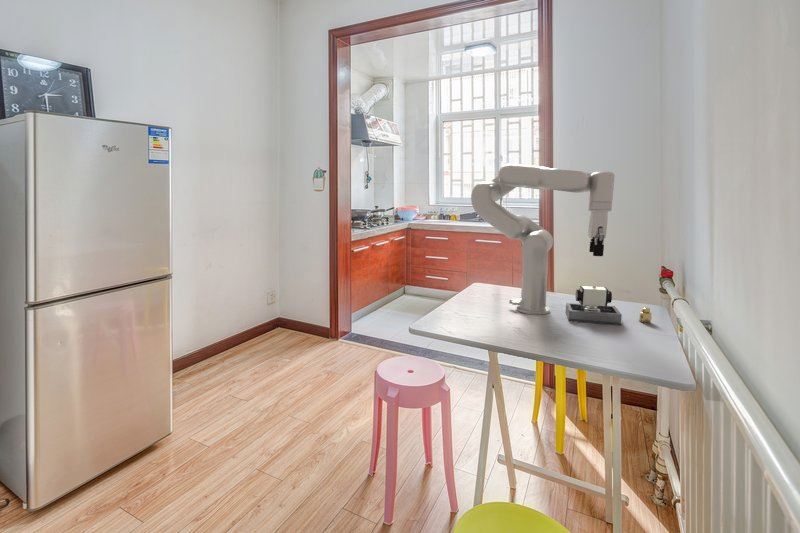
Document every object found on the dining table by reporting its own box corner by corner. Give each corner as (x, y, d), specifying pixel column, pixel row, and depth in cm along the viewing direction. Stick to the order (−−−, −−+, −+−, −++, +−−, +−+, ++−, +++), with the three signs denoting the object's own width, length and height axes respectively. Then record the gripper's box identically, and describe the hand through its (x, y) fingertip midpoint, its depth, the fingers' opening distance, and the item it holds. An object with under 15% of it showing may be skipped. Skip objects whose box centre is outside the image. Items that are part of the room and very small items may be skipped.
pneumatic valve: (610, 319, 153) (613, 287, 151) (575, 317, 156) (578, 285, 154) (606, 314, 158) (609, 283, 156) (573, 312, 161) (575, 282, 159)
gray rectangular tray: (568, 321, 154) (569, 310, 153) (565, 311, 166) (565, 301, 166) (620, 325, 149) (621, 314, 148) (613, 314, 162) (614, 304, 161)
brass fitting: (640, 323, 152) (642, 309, 151) (638, 320, 155) (639, 306, 154) (651, 324, 151) (653, 310, 150) (648, 321, 154) (650, 307, 153)
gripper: (585, 205, 159) (582, 250, 162) (592, 207, 143) (587, 257, 146) (607, 206, 157) (603, 251, 160) (616, 208, 141) (611, 258, 144)
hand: (595, 254), depth 153 cm, fingers open, 9 cm apart
